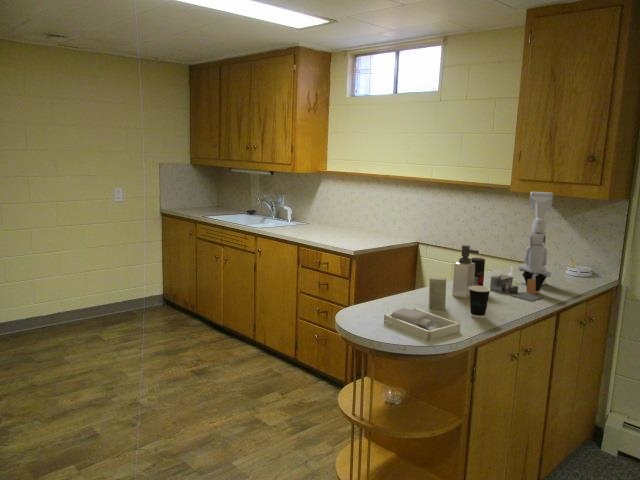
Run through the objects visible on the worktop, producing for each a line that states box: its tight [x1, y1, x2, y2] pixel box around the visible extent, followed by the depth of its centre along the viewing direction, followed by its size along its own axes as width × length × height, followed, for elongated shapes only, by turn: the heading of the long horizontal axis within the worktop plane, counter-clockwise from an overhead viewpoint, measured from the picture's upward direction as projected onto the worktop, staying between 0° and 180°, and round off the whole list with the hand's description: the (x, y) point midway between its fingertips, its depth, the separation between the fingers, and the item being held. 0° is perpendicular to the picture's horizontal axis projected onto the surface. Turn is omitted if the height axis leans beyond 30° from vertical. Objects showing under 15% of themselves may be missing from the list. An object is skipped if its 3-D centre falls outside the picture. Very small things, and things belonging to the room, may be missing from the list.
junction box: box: [489, 274, 514, 294], centre depth 238 cm, size 9×7×7 cm
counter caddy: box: [383, 307, 461, 342], centre depth 185 cm, size 16×22×3 cm
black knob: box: [507, 284, 519, 295], centre depth 233 cm, size 4×4×3 cm
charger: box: [391, 307, 437, 329], centre depth 185 cm, size 5×9×15 cm
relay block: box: [525, 278, 541, 295], centre depth 234 cm, size 4×4×6 cm
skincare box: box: [428, 276, 447, 311], centre depth 208 cm, size 6×4×12 cm
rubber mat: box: [510, 291, 546, 302], centre depth 227 cm, size 10×10×1 cm
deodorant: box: [470, 257, 486, 286], centre depth 233 cm, size 6×6×15 cm
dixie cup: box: [469, 285, 492, 319], centre depth 198 cm, size 8×8×11 cm
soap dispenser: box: [452, 244, 480, 299], centre depth 225 cm, size 6×9×22 cm
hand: (533, 289), depth 234 cm, fingers closed on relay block, 4 cm apart
